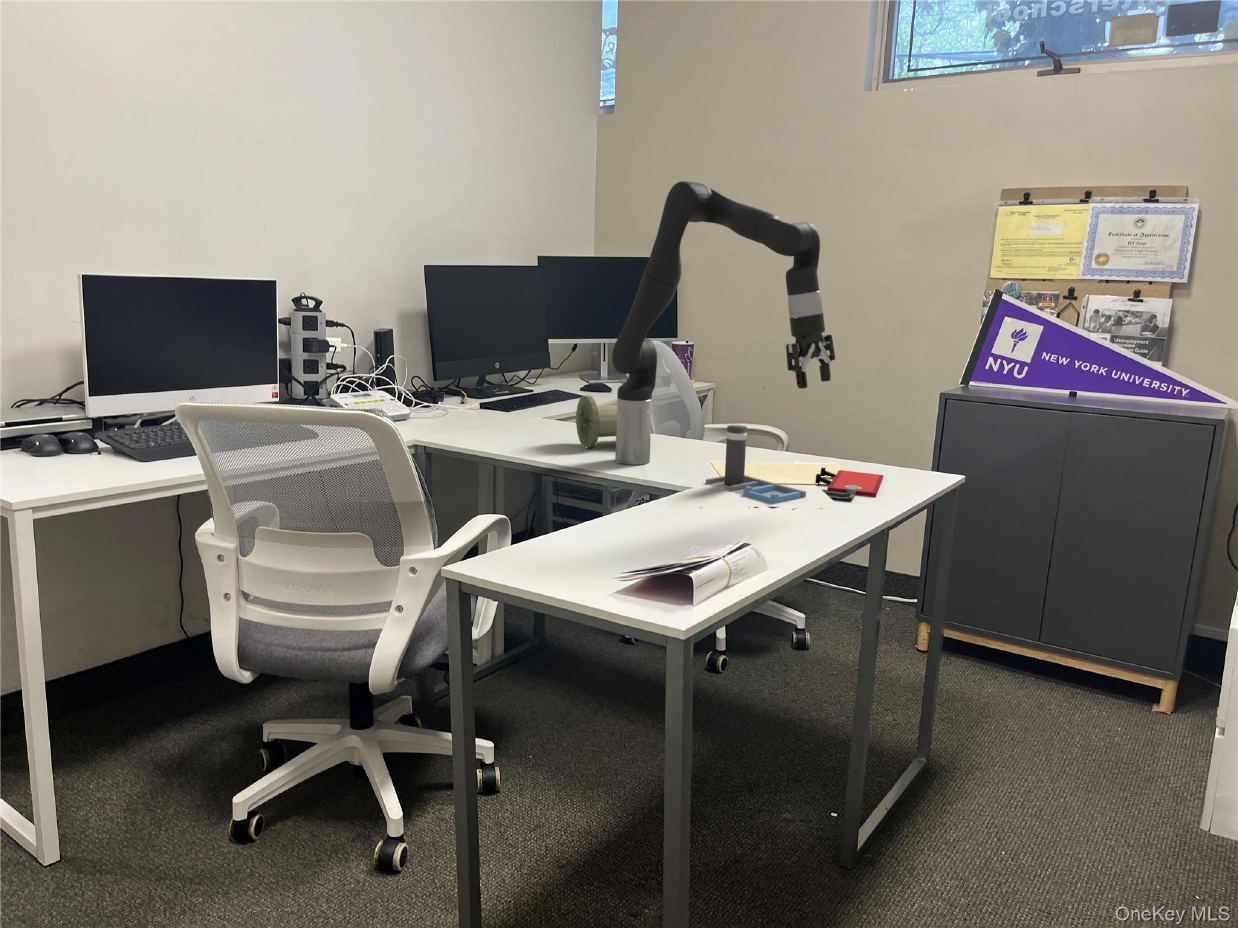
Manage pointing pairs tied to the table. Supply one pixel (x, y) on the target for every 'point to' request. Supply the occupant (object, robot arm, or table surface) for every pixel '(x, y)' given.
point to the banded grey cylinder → (735, 454)
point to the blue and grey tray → (759, 489)
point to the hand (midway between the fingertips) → (814, 384)
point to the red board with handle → (850, 484)
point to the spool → (594, 421)
